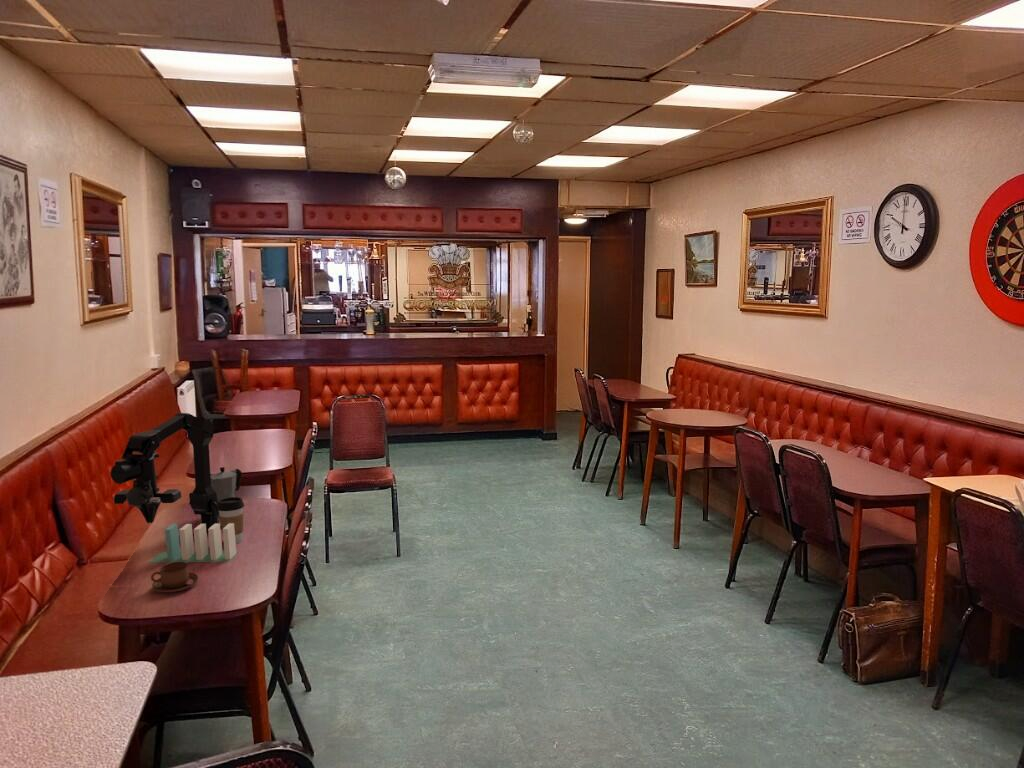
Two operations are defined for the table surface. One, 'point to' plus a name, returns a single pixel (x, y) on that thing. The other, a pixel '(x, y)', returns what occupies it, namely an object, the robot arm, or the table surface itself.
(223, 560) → the baize strip
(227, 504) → the coffee cup
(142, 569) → the table surface
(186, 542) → the domino
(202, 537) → the domino
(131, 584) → the table surface
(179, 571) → the cup and saucer
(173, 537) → the domino
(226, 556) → the domino
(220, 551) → the domino
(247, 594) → the table surface
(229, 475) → the coffeepot
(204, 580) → the table surface
